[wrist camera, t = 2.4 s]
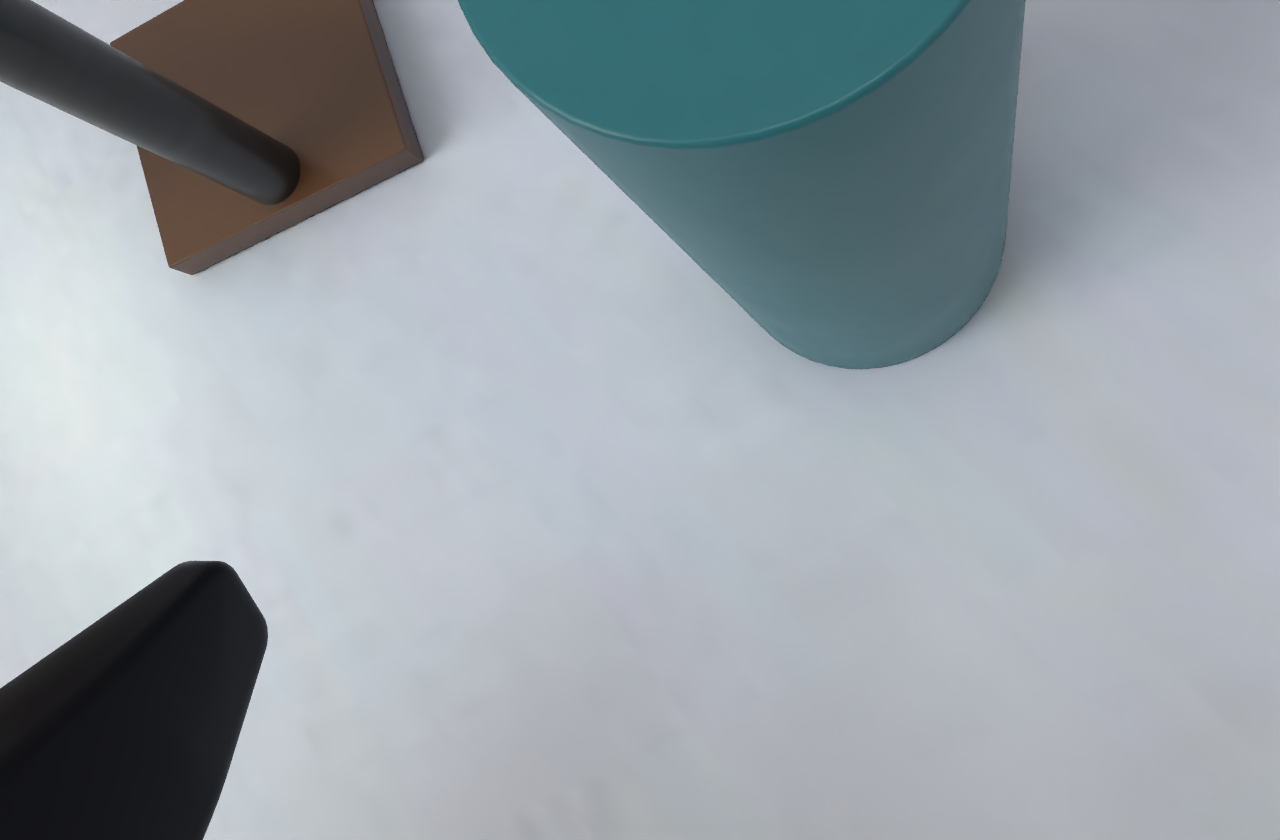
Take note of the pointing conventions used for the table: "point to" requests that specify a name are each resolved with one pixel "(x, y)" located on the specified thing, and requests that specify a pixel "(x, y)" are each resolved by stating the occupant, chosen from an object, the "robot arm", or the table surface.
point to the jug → (795, 147)
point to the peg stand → (228, 109)
